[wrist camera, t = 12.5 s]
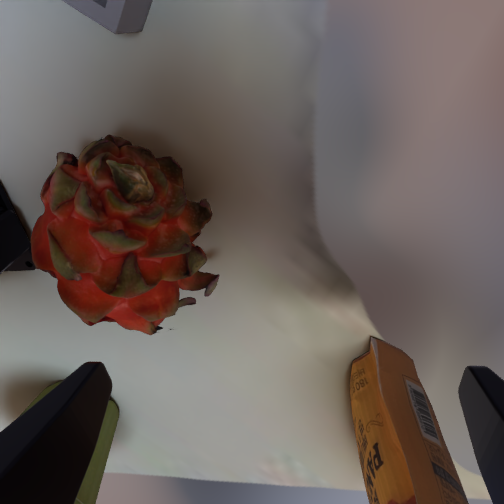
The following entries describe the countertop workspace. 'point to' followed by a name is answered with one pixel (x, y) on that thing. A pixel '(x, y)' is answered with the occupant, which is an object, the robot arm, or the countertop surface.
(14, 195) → the countertop surface
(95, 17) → the box
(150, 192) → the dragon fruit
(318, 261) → the countertop surface
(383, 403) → the pancake mix bag
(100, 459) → the plant pot
